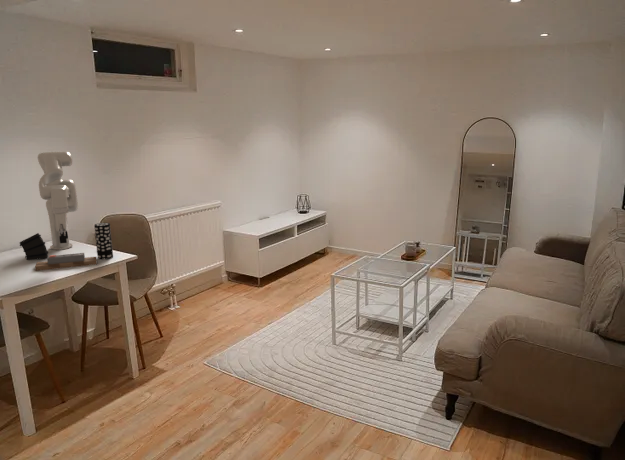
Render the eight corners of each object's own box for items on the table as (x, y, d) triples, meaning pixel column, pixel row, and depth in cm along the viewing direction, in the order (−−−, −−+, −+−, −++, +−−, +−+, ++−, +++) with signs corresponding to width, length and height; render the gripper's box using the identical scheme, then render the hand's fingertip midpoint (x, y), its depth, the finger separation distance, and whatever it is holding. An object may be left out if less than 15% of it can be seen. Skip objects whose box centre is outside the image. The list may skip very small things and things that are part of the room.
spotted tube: (96, 259, 278) (92, 226, 273) (99, 255, 286) (96, 223, 281) (111, 259, 279) (108, 225, 275) (114, 255, 287) (111, 222, 283)
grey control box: (49, 266, 265) (47, 255, 264) (85, 262, 272) (84, 251, 270) (48, 268, 261) (47, 257, 260) (84, 265, 268) (83, 253, 266)
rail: (37, 266, 265) (36, 262, 264) (96, 260, 276) (96, 256, 276) (35, 270, 258) (34, 266, 257) (96, 264, 269) (96, 260, 268)
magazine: (52, 256, 279) (37, 234, 274) (31, 266, 278) (15, 244, 273) (54, 254, 283) (39, 232, 278) (33, 264, 281) (17, 243, 276)
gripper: (54, 207, 266) (57, 237, 270) (51, 213, 251) (55, 245, 255) (69, 206, 269) (72, 236, 273) (67, 212, 253) (70, 244, 258)
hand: (64, 240), depth 264 cm, fingers open, 9 cm apart
